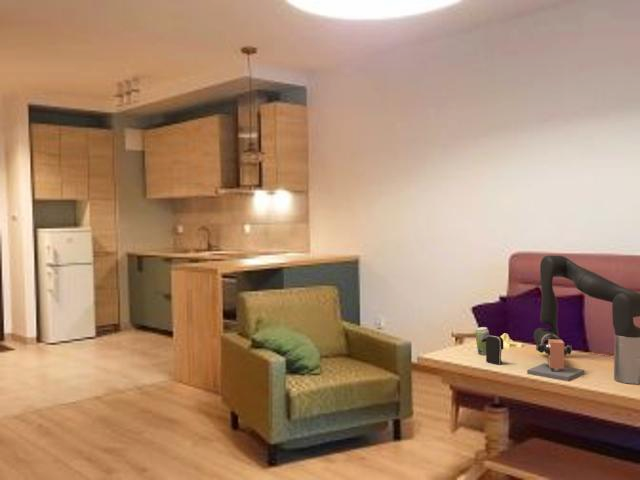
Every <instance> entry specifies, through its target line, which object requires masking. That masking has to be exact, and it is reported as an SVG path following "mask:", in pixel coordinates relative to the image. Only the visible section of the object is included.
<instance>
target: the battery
mask: <svg viewBox="0 0 640 480" xmlns="http://www.w3.org/2000/svg"><path fill="white" fill-rule="evenodd" d="M502 350H504V348H503V339H502V338H501V336H498V335H490V336H488V337H487V338H486V355H485V359H486V360H485V361H486V363H490V364H493V365H501V364H503V361H502Z"/></svg>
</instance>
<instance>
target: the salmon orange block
mask: <svg viewBox="0 0 640 480" xmlns="http://www.w3.org/2000/svg"><path fill="white" fill-rule="evenodd" d="M564 346H565V342H564V341H563V340H562V339H560V340H556V339H548V347H549V348H550V355H548V354H547V364H548V365H549V367H550V368H558V369H564V366H565V356H564Z"/></svg>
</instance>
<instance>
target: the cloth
mask: <svg viewBox="0 0 640 480" xmlns="http://www.w3.org/2000/svg"><path fill="white" fill-rule="evenodd" d="M500 337H501V338H502V339H503V349H506V348H507V349H508V350H509V349H511V346H512V347H517V348H523V347H525V344H524V343H523V342H516V341H514V340H513V339H511V338H510V336H509V334H508V333H505V332H504V333H503V334H502V335H500ZM507 349H506V350H507Z"/></svg>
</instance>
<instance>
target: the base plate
mask: <svg viewBox="0 0 640 480" xmlns="http://www.w3.org/2000/svg"><path fill="white" fill-rule="evenodd" d="M526 374H528V375H532V376H538V377H542V378H543V377H544V378H548V379H553V380H559V381H564V382H565V381H566V382H569V381H571V380H574V379H576V378H578V377H580V376H582V375H584V374H585V369H581V368H575V367H571V366H565V365H564V369H559V371H554V370H553V368H550V367H549V365H548V362H546V363H545V362H544V363H541V364H539V365H537V366H533V367H531V368H529V369H527V370H526Z"/></svg>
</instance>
